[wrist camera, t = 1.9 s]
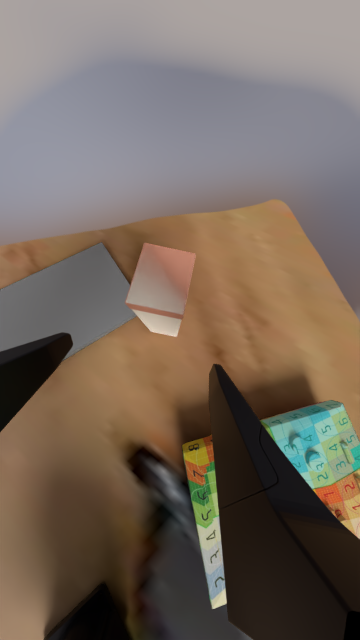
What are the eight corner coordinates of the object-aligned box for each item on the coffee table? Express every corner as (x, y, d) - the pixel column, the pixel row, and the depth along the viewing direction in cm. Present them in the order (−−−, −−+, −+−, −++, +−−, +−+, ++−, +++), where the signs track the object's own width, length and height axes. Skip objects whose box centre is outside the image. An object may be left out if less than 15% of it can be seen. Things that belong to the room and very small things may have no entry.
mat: (-20, 410, 17) (-31, 413, 16) (-52, 320, 20) (-63, 318, 19) (146, 310, 22) (145, 308, 21) (104, 246, 24) (101, 242, 23)
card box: (177, 337, 21) (183, 315, 9) (150, 331, 21) (124, 302, 9) (183, 306, 22) (196, 253, 11) (158, 301, 22) (144, 242, 11)
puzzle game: (413, 540, 13) (214, 629, 11) (351, 492, 18) (202, 550, 16) (352, 405, 16) (183, 457, 14) (312, 394, 20) (180, 432, 18)
